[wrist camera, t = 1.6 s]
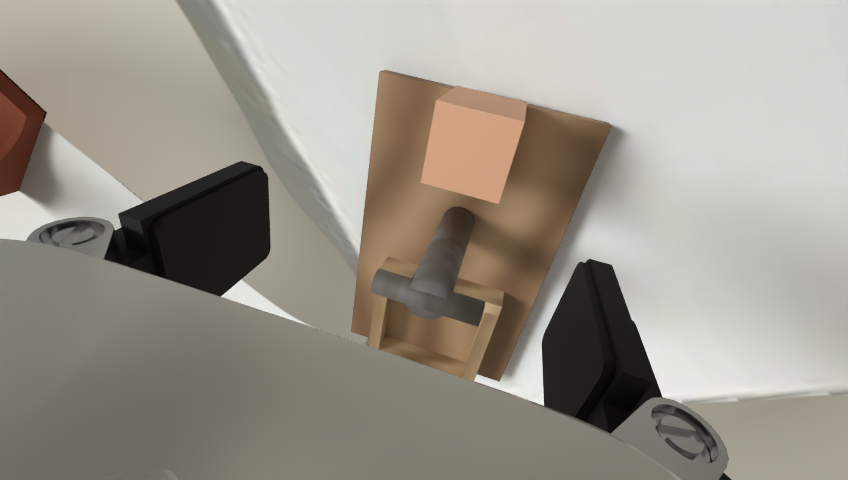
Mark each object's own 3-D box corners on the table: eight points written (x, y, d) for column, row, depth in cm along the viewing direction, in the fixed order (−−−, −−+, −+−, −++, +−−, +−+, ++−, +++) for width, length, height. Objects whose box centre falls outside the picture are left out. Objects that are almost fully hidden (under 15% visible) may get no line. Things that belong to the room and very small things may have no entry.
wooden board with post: (607, 122, 24) (658, 185, 14) (500, 371, 36) (487, 496, 26) (385, 70, 26) (293, 92, 16) (355, 323, 38) (294, 423, 28)
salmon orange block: (526, 102, 23) (524, 121, 18) (505, 170, 26) (498, 203, 20) (457, 85, 24) (436, 99, 19) (442, 153, 26) (420, 182, 21)
